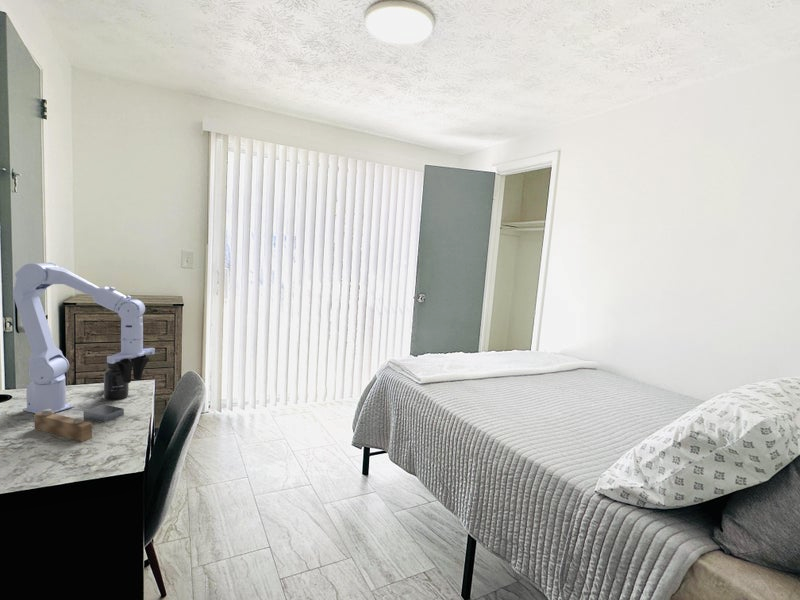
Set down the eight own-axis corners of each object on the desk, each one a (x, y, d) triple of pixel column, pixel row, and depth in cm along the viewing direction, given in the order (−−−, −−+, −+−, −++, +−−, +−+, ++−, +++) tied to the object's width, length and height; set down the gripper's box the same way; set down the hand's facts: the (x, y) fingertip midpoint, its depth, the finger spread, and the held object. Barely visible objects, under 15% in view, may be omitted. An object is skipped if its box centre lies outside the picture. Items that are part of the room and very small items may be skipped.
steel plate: (83, 419, 118) (83, 411, 118) (103, 412, 124) (103, 404, 124) (104, 423, 116) (104, 415, 116) (123, 416, 122) (123, 408, 122)
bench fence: (34, 428, 110) (34, 410, 109) (45, 425, 112) (44, 407, 112) (82, 441, 104) (81, 421, 104) (92, 437, 107) (91, 418, 106)
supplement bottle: (116, 401, 132) (115, 365, 131) (98, 398, 133) (98, 363, 132) (133, 395, 139) (133, 360, 137) (116, 392, 140) (116, 358, 139)
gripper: (119, 344, 118) (119, 389, 120) (162, 336, 132) (161, 376, 133) (101, 341, 120) (102, 385, 122) (145, 333, 134) (145, 373, 136)
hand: (132, 380), depth 128 cm, fingers open, 3 cm apart
